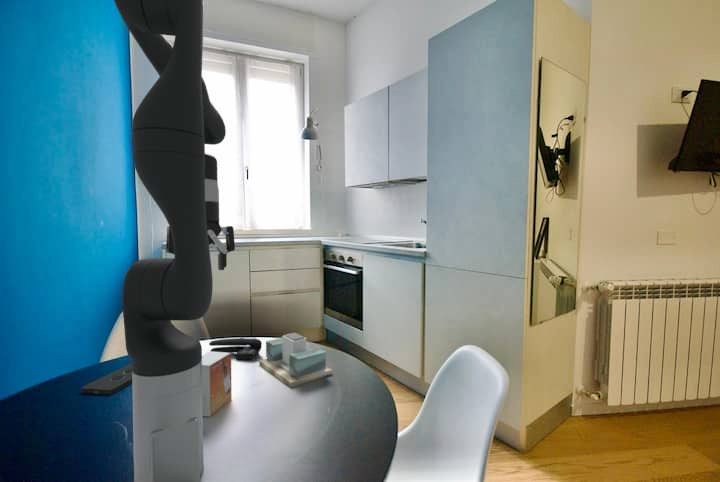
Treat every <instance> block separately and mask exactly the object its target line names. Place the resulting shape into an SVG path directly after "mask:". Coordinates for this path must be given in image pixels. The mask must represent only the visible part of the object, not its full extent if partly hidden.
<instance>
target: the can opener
mask: <svg viewBox="0 0 720 482" xmlns="http://www.w3.org/2000/svg"><path fill="white" fill-rule="evenodd" d="M208 345H209V346H210V347H212V346H213V348H211V350H210V351H214V352H226V353H231V354H233V353H235V355H234V358H236V360H241V361H250V360H253V359H255V358H256V357H257V356H258V355H260V351H261V349H262V345H263V343H262V340H261V339H259V338H256V337H255V338H245V337H242V336H240V337H239V338H234V337H233V338H222V339H214V340H211V341H209V343H208ZM214 346H215V347H214ZM216 346H217V347H216ZM218 346H219V347H218Z"/></svg>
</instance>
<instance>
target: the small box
mask: <svg viewBox="0 0 720 482" xmlns="http://www.w3.org/2000/svg"><path fill="white" fill-rule="evenodd" d="M232 397H233V396H232V353H226V352H214V351H211V350H210V351H208V352H206V353H205V354H202V404H203V417H208V418H210V417H212V416H213V415H214V414H215V413H216V412H217V411H219V410H220V409H221V408H222V407H223V406H225V405H226V404H227V403H229V402H231V400H232Z"/></svg>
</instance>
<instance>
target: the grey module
mask: <svg viewBox="0 0 720 482" xmlns="http://www.w3.org/2000/svg"><path fill="white" fill-rule="evenodd" d="M281 338H282V361H283V362H284V363H286V364H288V365H289V354H292V353H296V352H300V351H304V350H307V337H305V336H303V335H301V334H298V333H297V332H292V333H287V334H284V335H282V336H281Z"/></svg>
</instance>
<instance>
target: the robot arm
mask: <svg viewBox="0 0 720 482" xmlns="http://www.w3.org/2000/svg"><path fill="white" fill-rule="evenodd" d="M113 2H114V4H115V7H116V9H117V11H118V13H119V15H120V17H121V19H122V20H123V22H124V24H125V26H126V27H127V29H128V31H129V32H130V33H131V35H132V37H133V38H134V40H135V42H136V43H137V44H138V46H139V48H140V49H141V51H142V52H143V54H144V55H145V56H146V58H147V60H148V61H149V63H150V64H151V65H152V67H153V68H154V69H155V71H156V73H157V75H159V77H158V79H157V80H156V81H155V82H154V84H153V85H152V87H151V88H150V89H149V90H148V92H147V93H146V95H145V96H144V97H143V99H142V101H141V102H140V104H138V107H137V109H136V111H135V113H134V115H133V118H132V150H133V151H132V154H133V165H134V169H135V171H136V174H137V175H138V178H139V179H140V181H141V182H142V185H143V186H144V187H145V189H146V190H147V192H148V194H149V195H150V197H151V198H152V199H153V201H154V202H155V203H156V205H157V206H158V208H159V210H160V211H161V213H162V214H163V216H164V217H165V219H166V222H167V224H168V226H167V227H166V240H165V241H166V243H165V244H166V245H165V252H166V253H167V254H168V253H169V254H172V255H174V257H165V258H164V257H156V258H155V257H154V258H153V257H152V258H149V257H148V258H142V259H139V260H136V261H135V262H134V263H133V264H132V265H130V266H129V268H128V270H127V272H126V274H125V276H124V279H123V284H122V288H121V289H122V292H121V297H122V298H121V304H122V317H123V326H124V337H125V338H124V339H125V349H126V352H127V355H128V357H129V359H130V361H131V363H132V384H131V385H132V391H131V392H132V430H133V431H132V435H133V439H132V440H133V441H132V442H133V474H134V475H133V479H134V481H133V482H201V475H202V473H203V471H204V466H205V465H204V423H203V420H204V419H203V418H204V416H203V404H202V356H203V350H202V349H203V348H202V343H201V341H200V340H199V339H197V338H196V337H194V336H192V335H191V336H190V335H189V334H187V333H185V332H182V331H181V330H179V329H178V328H177V327H176V326H175V325H174V324H173V323H172V321H197V320H199V319H201V318H203V317H204V316H205V315H206V313H207V312H208V310H209V308H210V305H211V302H212V297H213V282H214V281H213V270H212V268H213V267H212V260H211V251H210V245H212V246H213V247H214V248H215V249H216V250H217V251H218V254H217V263H218V264H217V269H218V270H219V271H224V270H225V268H227V266H228V265H227V263H228V260H227V256H228V255H227V254H228V253H231V252H234V251H235V250H236V245H235V231H234V226H230V225H227V226H221V225H220V189H219V184H218V182H219V181H218V160H217V158H216V157H215V156H213V155H212V154H209V153H206V148H205V147H206V146H205V145H212V146H213V145H218V144H221V143H222V142H224V139H225V137H226V134H227V133H226V132H227V131H226V125H225V121H224V120H223V118H222V115H221V114H220V112H219V111H218V110H217V109H216V108H215V105H214V104H213V103H212V102H211V100H210V96H209V95H210V94H209V92H208V89H207V85H206V82H205V79H204V77H203V55H204V54H203V49H204V32H205V31H204V27H205V24H204V21H205V19H204V18H205V7H204V6H205V4H204V2H205V1H204V0H113ZM165 36H173V37H174V42H173V45H172V43H171V42H170V41H169V40H168V39H167V38H166V37H165ZM221 233H222V234H223V235H224V236H225V246H224V245H223V242H222V241H221V240H220V239H219V238H218V237H219V235H220V234H221Z"/></svg>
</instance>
